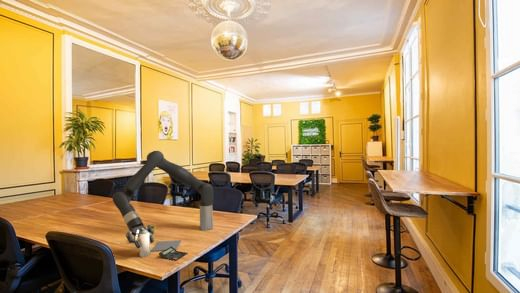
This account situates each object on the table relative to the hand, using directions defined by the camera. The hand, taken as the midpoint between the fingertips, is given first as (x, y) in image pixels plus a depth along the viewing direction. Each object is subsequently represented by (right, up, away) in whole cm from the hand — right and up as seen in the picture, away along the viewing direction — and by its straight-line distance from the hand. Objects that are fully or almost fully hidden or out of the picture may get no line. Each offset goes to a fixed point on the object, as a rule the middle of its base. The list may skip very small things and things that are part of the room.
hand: (146, 244), depth 133 cm
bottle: (-1, -6, +1) cm, 6 cm away
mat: (+6, -6, +13) cm, 15 cm away
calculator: (+15, -6, -1) cm, 17 cm away
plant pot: (-9, -7, +21) cm, 24 cm away
